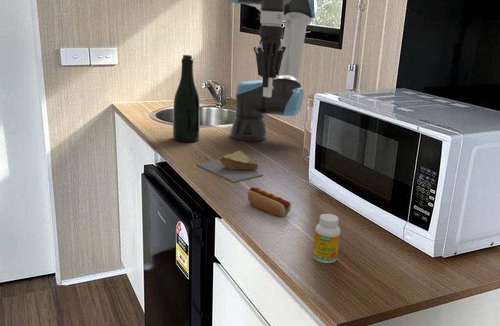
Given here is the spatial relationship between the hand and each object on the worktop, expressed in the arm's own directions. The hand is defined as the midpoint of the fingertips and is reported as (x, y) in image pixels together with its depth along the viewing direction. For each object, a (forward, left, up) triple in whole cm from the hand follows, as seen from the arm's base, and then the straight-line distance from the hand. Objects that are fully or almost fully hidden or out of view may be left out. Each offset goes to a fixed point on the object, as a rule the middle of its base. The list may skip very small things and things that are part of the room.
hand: (267, 96), depth 166 cm
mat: (+17, +2, -23) cm, 29 cm away
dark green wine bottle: (+8, -37, -23) cm, 44 cm away
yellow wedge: (+9, +2, -21) cm, 23 cm away
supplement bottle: (+36, +60, -23) cm, 74 cm away
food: (+28, +33, -23) cm, 50 cm away
